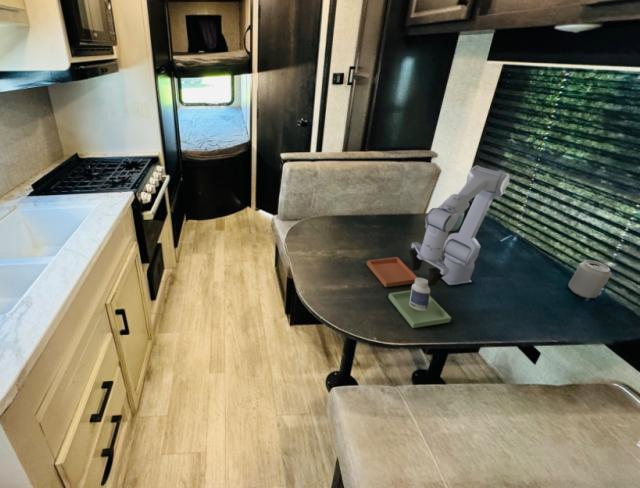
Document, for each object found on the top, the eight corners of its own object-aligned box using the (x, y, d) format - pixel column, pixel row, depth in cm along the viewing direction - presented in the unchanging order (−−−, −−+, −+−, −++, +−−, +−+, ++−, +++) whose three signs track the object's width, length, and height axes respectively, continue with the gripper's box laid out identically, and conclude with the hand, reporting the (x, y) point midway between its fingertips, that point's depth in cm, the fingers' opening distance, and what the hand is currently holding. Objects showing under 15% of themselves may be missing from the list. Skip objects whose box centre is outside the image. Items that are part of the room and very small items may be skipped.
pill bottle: (429, 312, 102) (434, 285, 100) (412, 310, 103) (416, 283, 101) (423, 303, 107) (428, 277, 105) (406, 301, 108) (410, 275, 106)
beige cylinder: (588, 287, 114) (604, 260, 109) (601, 301, 108) (619, 274, 102) (562, 282, 116) (577, 256, 111) (574, 296, 110) (590, 269, 105)
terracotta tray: (396, 260, 129) (397, 256, 128) (417, 282, 117) (418, 278, 116) (366, 264, 127) (367, 260, 126) (385, 287, 115) (386, 283, 114)
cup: (436, 224, 154) (441, 206, 149) (453, 224, 153) (459, 207, 149) (444, 232, 147) (450, 214, 142) (461, 233, 146) (468, 215, 142)
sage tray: (421, 292, 112) (423, 288, 111) (449, 322, 100) (451, 317, 100) (388, 297, 110) (389, 293, 109) (412, 328, 99) (414, 323, 98)
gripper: (407, 232, 105) (398, 264, 111) (438, 259, 92) (427, 294, 98) (425, 230, 106) (416, 262, 112) (460, 256, 93) (447, 291, 99)
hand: (423, 277), depth 105 cm, fingers open, 7 cm apart
